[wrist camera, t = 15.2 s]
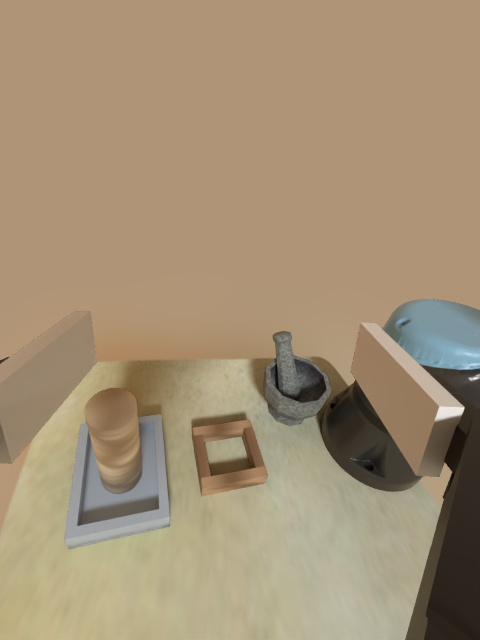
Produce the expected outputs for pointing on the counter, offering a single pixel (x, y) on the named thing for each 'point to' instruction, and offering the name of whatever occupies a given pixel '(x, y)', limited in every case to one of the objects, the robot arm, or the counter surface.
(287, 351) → the mortar and pestle
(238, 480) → the socket block
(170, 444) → the counter surface
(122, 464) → the dowel
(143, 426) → the tray
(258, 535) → the counter surface
